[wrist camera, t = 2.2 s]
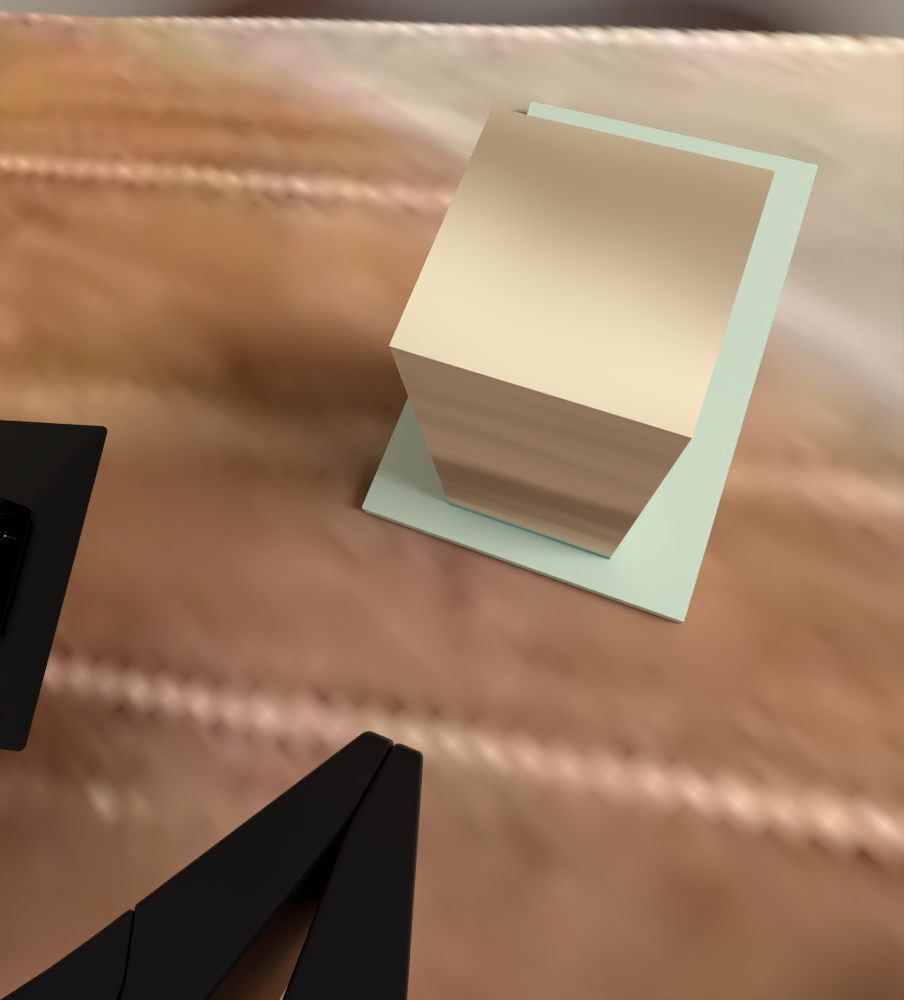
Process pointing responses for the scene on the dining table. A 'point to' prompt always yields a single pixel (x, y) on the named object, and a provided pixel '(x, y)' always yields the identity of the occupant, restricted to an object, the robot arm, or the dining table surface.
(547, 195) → the maple block
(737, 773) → the dining table surface
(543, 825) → the dining table surface
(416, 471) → the mat
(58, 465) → the black boxy device
